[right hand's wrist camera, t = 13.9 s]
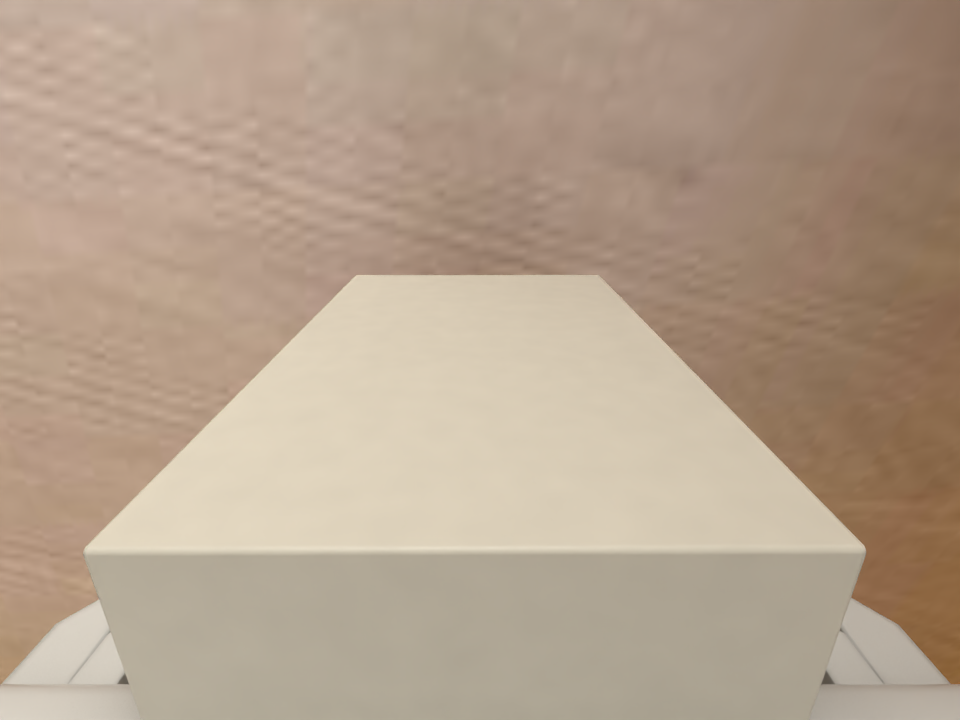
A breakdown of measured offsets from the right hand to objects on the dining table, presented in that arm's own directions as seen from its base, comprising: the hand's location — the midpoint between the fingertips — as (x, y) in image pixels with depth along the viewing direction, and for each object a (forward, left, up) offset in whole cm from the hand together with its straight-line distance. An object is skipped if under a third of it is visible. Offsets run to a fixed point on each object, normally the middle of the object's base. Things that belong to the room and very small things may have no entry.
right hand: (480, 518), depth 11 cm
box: (+2, +9, -5) cm, 10 cm away
